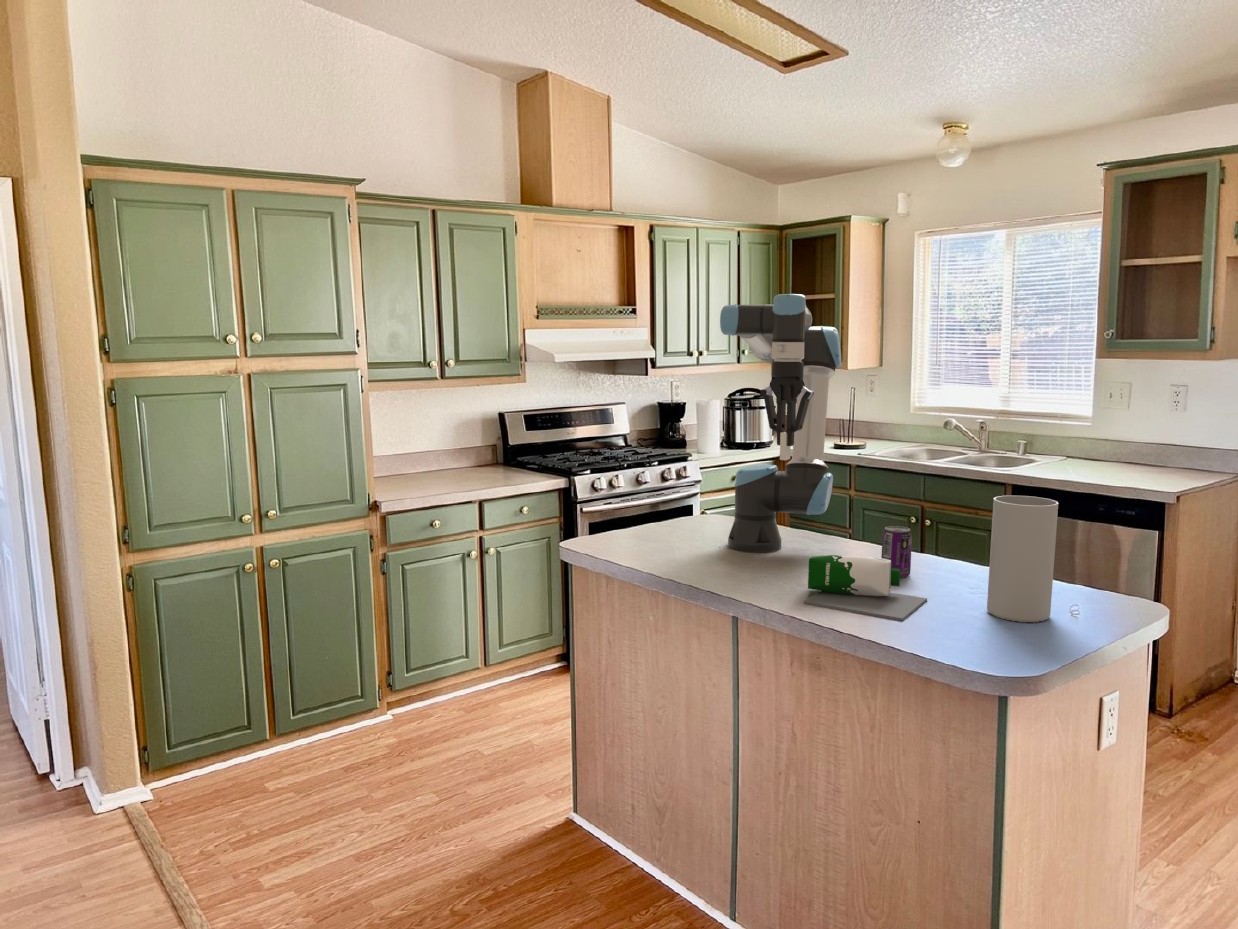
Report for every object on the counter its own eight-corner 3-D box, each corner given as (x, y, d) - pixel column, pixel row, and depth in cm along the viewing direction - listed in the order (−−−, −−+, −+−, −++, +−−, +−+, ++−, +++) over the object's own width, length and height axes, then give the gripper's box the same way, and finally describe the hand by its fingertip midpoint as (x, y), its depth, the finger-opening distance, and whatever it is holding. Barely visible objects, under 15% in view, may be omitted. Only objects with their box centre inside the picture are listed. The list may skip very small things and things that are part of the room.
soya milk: (811, 589, 213) (899, 595, 207) (806, 592, 204) (898, 600, 198) (812, 552, 213) (900, 557, 207) (808, 554, 205) (899, 560, 198)
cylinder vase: (976, 606, 198) (983, 495, 195) (1030, 605, 199) (1038, 495, 196) (1004, 624, 186) (1012, 506, 183) (1062, 623, 187) (1070, 505, 184)
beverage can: (911, 580, 220) (914, 532, 219) (881, 578, 222) (884, 531, 220) (908, 572, 227) (910, 526, 226) (879, 571, 229) (881, 525, 227)
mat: (804, 603, 200) (804, 600, 200) (834, 585, 215) (834, 583, 215) (902, 621, 188) (902, 618, 188) (927, 601, 203) (927, 598, 203)
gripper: (755, 360, 212) (753, 459, 215) (807, 361, 204) (804, 463, 208) (769, 359, 218) (766, 455, 221) (820, 360, 210) (816, 459, 214)
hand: (784, 459), depth 214 cm, fingers closed
